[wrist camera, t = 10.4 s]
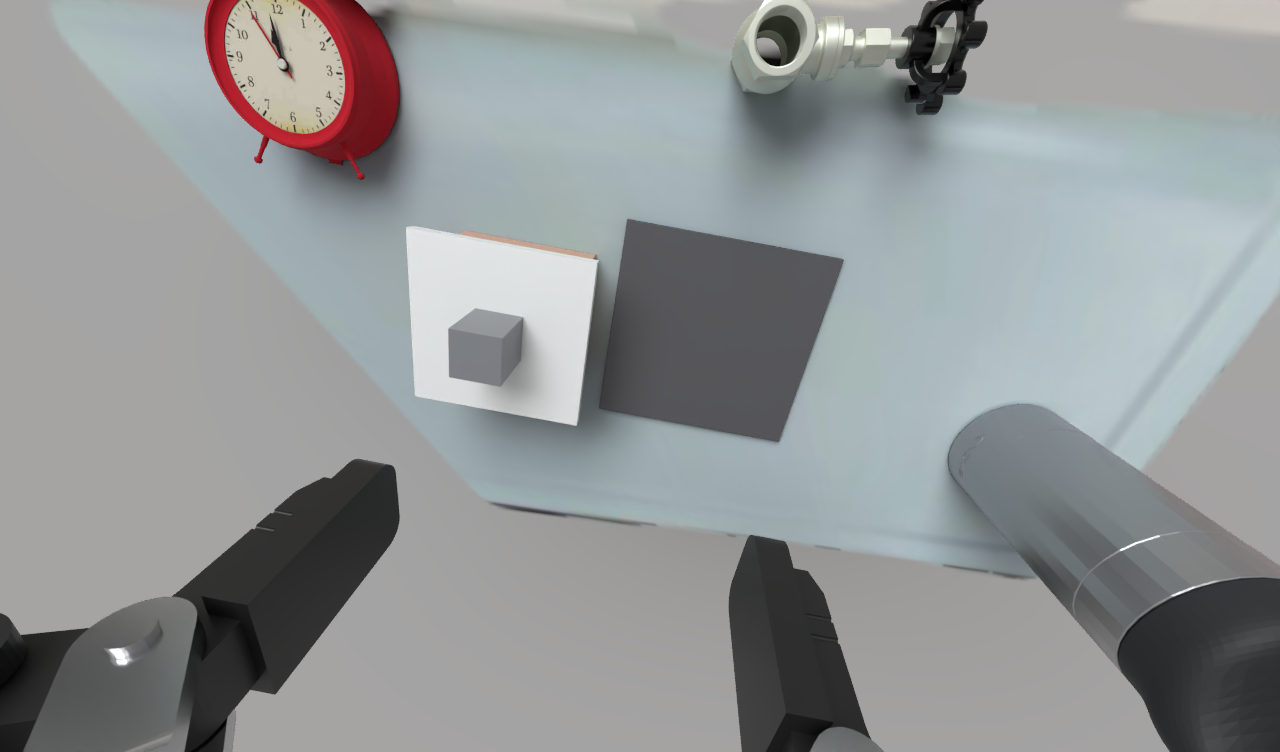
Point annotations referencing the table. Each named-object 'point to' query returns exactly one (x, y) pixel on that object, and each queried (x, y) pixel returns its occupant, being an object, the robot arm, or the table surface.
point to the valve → (859, 48)
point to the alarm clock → (305, 73)
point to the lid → (499, 324)
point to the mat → (712, 329)
